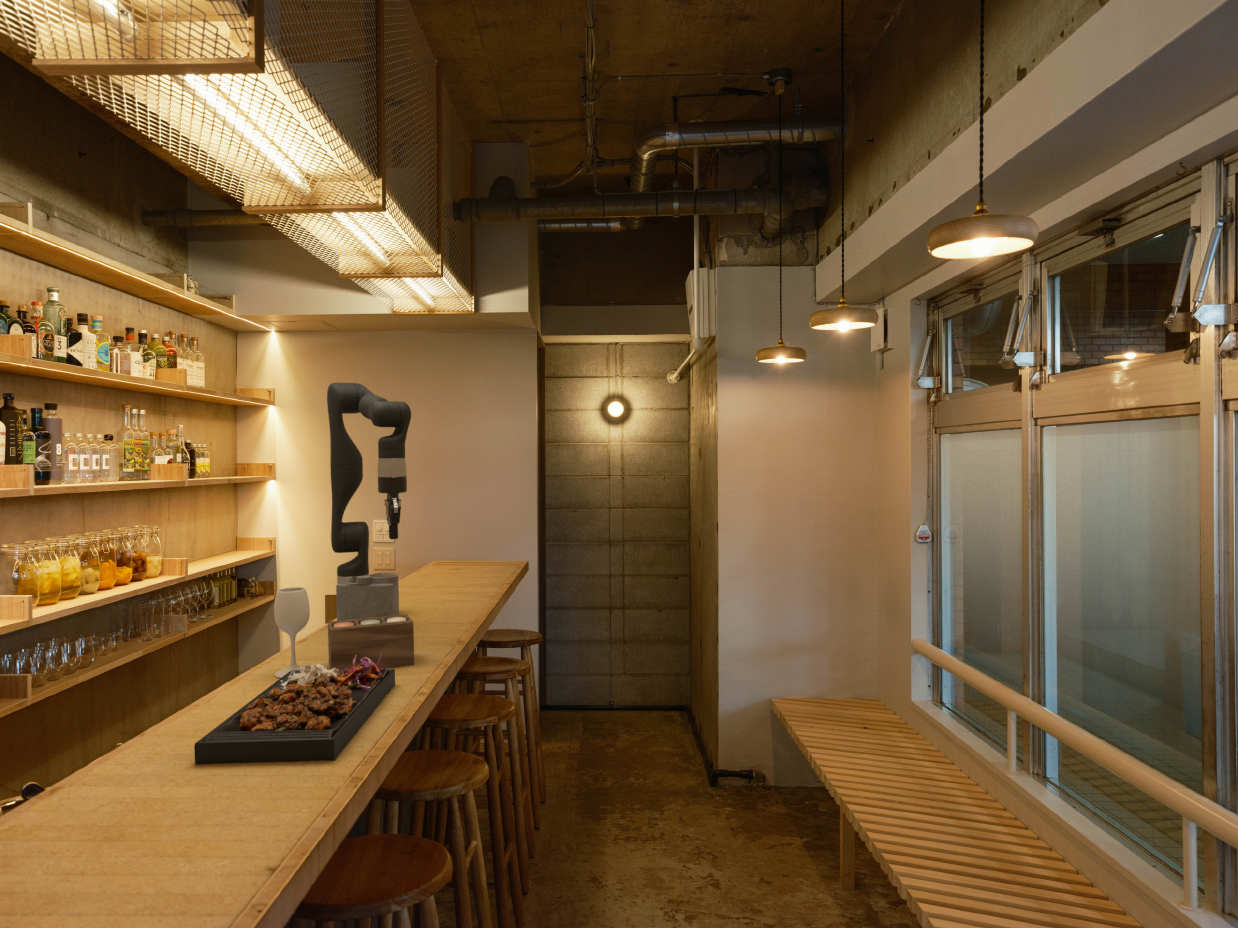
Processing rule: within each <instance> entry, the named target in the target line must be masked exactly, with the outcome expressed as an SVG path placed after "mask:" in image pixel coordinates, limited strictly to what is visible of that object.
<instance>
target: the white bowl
mask: <svg viewBox="0 0 1238 928" xmlns="http://www.w3.org/2000/svg"><path fill="white" fill-rule="evenodd" d="M310 610H311V609H310V601H309V595H308V591H307V589H306V587H302V586H295V587H293V586H292V587H284V588H280V589H278V590H277V591H276V593H275V599H274V607H273V614H274V615H273V617H274V622H275V624H276V626H277V627H278V628H279V630H280V631H282V632H283V633H286V634H287V635H288V636H289V639H290V664H289V667H285V668H282V669H280V670H278V671H277V672H275V674H274V676H275V677H276V678H278V679H280V678H282V677H283V676H284V675H285V674H287V673H288V672H290V671H291V670H293V669H294V670H304V668H305V666H302V665H301V666H299V665H298V664H297V659H296V658H297V657H296V637H297V634H298V633H299V632H301V631H302V630H303V629H305V628H306V626H307V624H308V622H309V619H310V613H311V612H310Z"/></svg>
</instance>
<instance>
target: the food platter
mask: <svg viewBox="0 0 1238 928" xmlns="http://www.w3.org/2000/svg"><path fill="white" fill-rule="evenodd" d="M381 655H382V652H381V654H380V658H379V661H378V663H377V664H374V663H373V662H372V661H371V660H370V659H369V658H367V657H364V658H362V659H361V660H360V662H361V664H360V665H361V666H360V665H358V666H356V667H355V662H356V654H355V658H354V660H353V661H352V663H353V667H352V664H351V668H350V669H347V668H346V669H336V668H333V669H330V668H329V669H327V667H326V666H325V665H322V664H321V663H317V664H305V665H304V667H305V668H304V670H294V669H293V670H291V671H290V672H288V673H287V674H285V675H284V676H283V677H282V678H278V680H276V681H275V682H274V683H273V684H271V685H269V687H267V688H266V689H264V690H262V692H261V693H259V694H258V695H257V696H256V697H254V698H252V699H251V700H250V701H248V702H247V703H246V704H245V705H243V706H242V707H241V708H239V709H238V710H237V711H236V712H234V713H232V715H230V716H229V717H227V718H226V719H225V720H224V721H222V722H221V723H219V724H218V725H217V726H216V727H215V728H213V729H212V730H210V731H209V732H208V733H206V734H205V735H204V736H202V737H201V738H200V739H199V740H198V741H196V742H195V743H194V745H193V747H194V765H219V764H220V765H222V764H257V763H258V764H259V763H260V764H261V763H263V764H264V763H291V762H294V763H295V762H300V763H301V762H326V761H327V762H328V761H329V762H330V761H331V762H332V761H333V762H334V761H336V760H337V758H338V757H339V756H340V755H341V753H342V752H343V751H344V749H345V748H346V747H347V745H348V744H349V743H350V742H351V741H352V739H354V737H355V736H356V734H357V733H358V732H359V731H360V730H361V728H362V727H363V724H364V725H365V724H366V722H367V721H368V719H369V718H371V716H372V715H373V713H374V712H375V711H376V710H375V709H377V708H378V707H379V706H380V705H381V704H382V702H383V701H384V700H383V699H386V697H387V696H388V695H389V694H390V692H391V691H392V690H391V689H394V687H395V686H396V671H395V668H380V659H381ZM387 694H388V695H387ZM386 695H387V696H386Z"/></svg>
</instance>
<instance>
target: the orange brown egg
mask: <svg viewBox="0 0 1238 928" xmlns="http://www.w3.org/2000/svg"><path fill="white" fill-rule="evenodd" d="M348 626H354V623H352V622H341V623H336V624H334V628H338V627H348Z"/></svg>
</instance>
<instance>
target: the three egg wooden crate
mask: <svg viewBox="0 0 1238 928" xmlns="http://www.w3.org/2000/svg"><path fill="white" fill-rule="evenodd" d="M393 617H404V618H406V621H399V622H389V623H387V619H389V618H393ZM365 620H380V623H378V624H368V625H361V621H365ZM341 622H352V623H354V626H348V627H338V628H334V624H336V623H341ZM414 628H415V627H414V621H413V619H412V618H410V616H409V614H407V613H406V614H405V613H404V614H399V615H392V616H382V617H371V618H361V619H350V620H340V621H337V620H332V621H327V640H328V641H327V642H328V643H327V644H328V648H327V649H328V666H329V667H328V668H329V669H333V668H336V669H346V668H347V669H350V668H351V664H352V667H353V663H352V661H353V660H354V658H355V654H356V662H355V667H356V666H358V665H360V664H361V662H360V660H361V659H362V658H364V657H367V658H369V659H370V660H371V661H372V662H373V663H374V664H377V663H378V661H379V658H380V654H381V652H382V655H381V659H380V668H386V669H394V668H400V666H402V667H410V666H415V640H414V639H415V636H414V634H415V633H414V631H415V630H414ZM409 665H410V666H409ZM360 666H361V665H360Z"/></svg>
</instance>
